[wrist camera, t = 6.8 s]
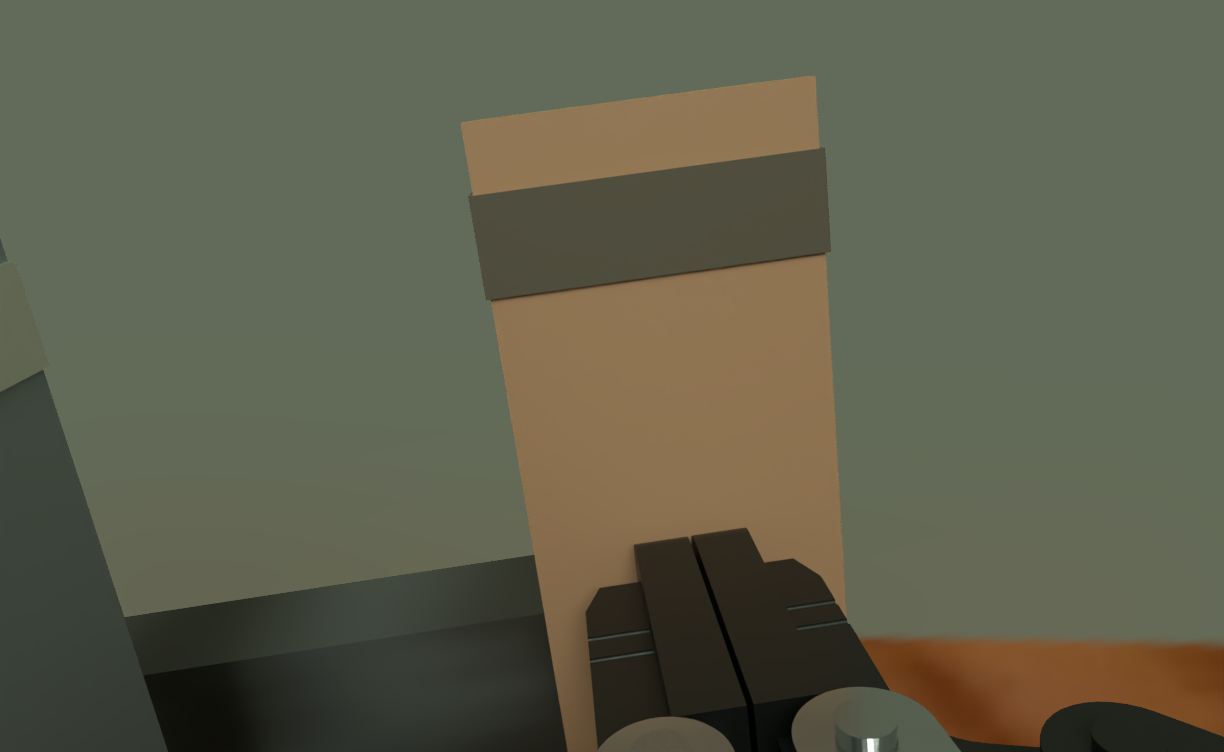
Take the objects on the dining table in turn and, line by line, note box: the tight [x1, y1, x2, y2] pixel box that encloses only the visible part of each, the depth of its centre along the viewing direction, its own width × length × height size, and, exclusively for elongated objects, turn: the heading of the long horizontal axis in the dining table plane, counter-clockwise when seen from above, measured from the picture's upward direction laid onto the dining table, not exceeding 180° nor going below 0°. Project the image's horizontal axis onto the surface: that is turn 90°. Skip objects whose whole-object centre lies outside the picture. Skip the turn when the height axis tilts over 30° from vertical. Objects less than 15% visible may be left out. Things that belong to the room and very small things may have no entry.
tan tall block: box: [461, 76, 847, 752], centre depth 13 cm, size 4×3×12 cm
